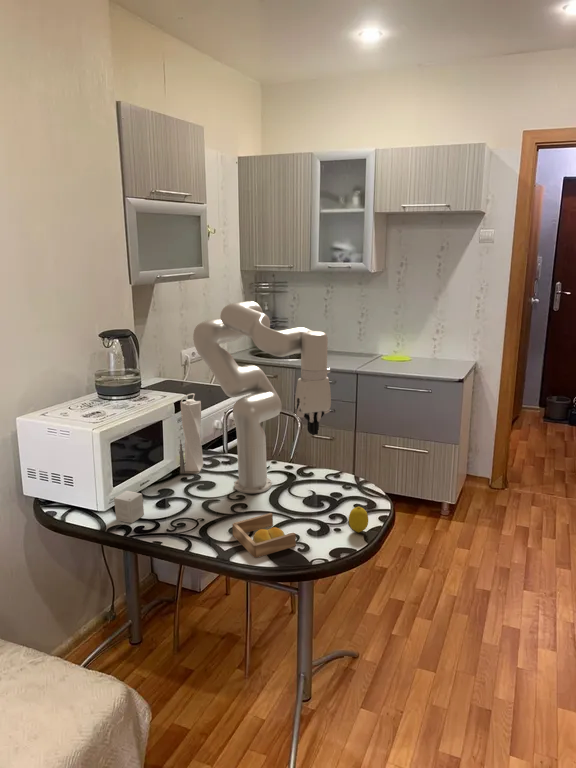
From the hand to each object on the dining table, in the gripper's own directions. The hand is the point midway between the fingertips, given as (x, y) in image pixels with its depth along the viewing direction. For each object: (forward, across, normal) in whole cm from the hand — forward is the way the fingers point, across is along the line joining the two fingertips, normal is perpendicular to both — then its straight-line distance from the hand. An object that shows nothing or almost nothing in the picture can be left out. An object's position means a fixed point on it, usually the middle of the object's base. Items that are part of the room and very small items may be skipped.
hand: (313, 433), depth 177 cm
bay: (+25, +21, +11) cm, 34 cm away
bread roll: (+25, +20, +13) cm, 34 cm away
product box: (+26, +52, -20) cm, 61 cm away
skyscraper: (+27, +23, -48) cm, 60 cm away
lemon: (+24, -5, +20) cm, 32 cm away
